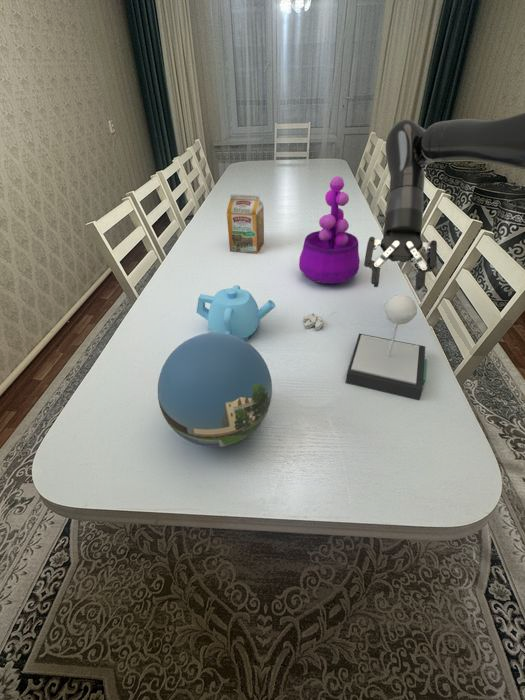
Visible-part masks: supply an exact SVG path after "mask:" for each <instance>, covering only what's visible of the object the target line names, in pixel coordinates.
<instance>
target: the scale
mask: <svg viewBox="0 0 525 700" xmlns="http://www.w3.org/2000/svg"><path fill="white" fill-rule="evenodd" d="M391 340H392V338H391V339H390V338H385V337H380V336H374V335H369V334H365V333H358V335H357V339H356V343H355V346H354V349H353V352H352V356H351V359H350V362H349V365H348V368H347V372H346V377H345V384H349V385H354V386H357V387H361V388H366V389H369V390H373V391H379V392H382V393H386V394H390V395H396V396H399V397H403V398H408V399H412V400H417V401H420V399H421V396H422V393H423V391H424V386H425V384H426V382H427V367H428V365H427V364H428V359H426V346H425V345H422V344H415V343H411V342H405V341H400V340H395V339H394V342H393V346H392V350H391V354H390V357H388V352H389V348H390V344H391Z"/></svg>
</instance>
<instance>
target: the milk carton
mask: <svg viewBox="0 0 525 700" xmlns="http://www.w3.org/2000/svg"><path fill="white" fill-rule="evenodd" d="M264 216H265V213H264V203H263V202H262V200H261V197H260V195H258V194H240V193H238V194H237V193H231V194H230V197H229V202H228V205H227V210H226V220H227V221H226V222H227V233H228V244H229V245H228V246H229V252H231V253H241V254H252V255H254V254H255V255H258V253H259V252H260V251H261V249H262V247H263V246H264V245H265V218H264Z"/></svg>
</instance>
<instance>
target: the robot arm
mask: <svg viewBox="0 0 525 700" xmlns="http://www.w3.org/2000/svg"><path fill="white" fill-rule="evenodd" d="M385 158H386V163H387V169H388V174H389V179H390V180H389V188H388V197H387V201H386V205H385V211H384V215H385V216H384V227H383V236H382V239H378V238H377V239H376V238H375V237H374V236H370V237H369V238H368V241H367V244H366V251H365V257H364V263H363V266H364V267H365V268H369V269H371V279H370V284H371V285H373V288H378V287H379V285H380V275H381V267H382V266H383V265H384V264H385V263H386V262H387V261H388V260H389V261H390V262H394V263H395V262H401V263H407V262H409V264H410V265H411V266H412V267H414V269H415V270H416V272H417V273H416V275H415V284H414V285H415V286H414V287H415V288H414V291H417V292H419V291H421V290H422V289H423V287H424V286H425V284H426V274H427V273H430V272H433V271H434V269H435V268H436V267H437V261H438V259H437V257H438V256H437V253H438V242H437V240H434V239H433V240H431V241H426V242H425V241H422V229H423V218H424V217H423V216H424V215H423V214H424V203H425V202H424V191H425V178H426V177H425V176H426V175H425V169H424V168H423V166H426V165H427V166H428V165H430V164H433V163H435V162H479V163H480V162H481V163H488V164H496V165H500V166H501V165H502V166H506V167H510V168H513V169H514V168H515V169H519V170H523V171H525V112H521V113H519V114H515V115H513V116H509V117H505V118H500V119H492V120H490V119H489V120H486V119H480V118H470V117H469V118H457V119H450V120H449V119H448V120H441V121H437V122H435V123H433V124H431V125H430V126H428V127H427V128H424V127H423V126H422V125H419V124H418V123H416V122H415V121H413V120H411V119H407V118H405V119H401V120H399V121H397V122H396V123H395V124H394V125H393V126H392V127H391V129H390V130H389V133H388V135H387V137H386V141H385ZM378 247H380V249H381V250H382V252H383V253H381V255H380V257H379V258H377V259H376V260H373V255H374V251H375V250H377V248H378ZM421 249H423V252H424V253H425V254H426V263H425V261H424V260H423V257H422V255H421V254H420V252H419V251H420V250H421Z"/></svg>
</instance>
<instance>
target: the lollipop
mask: <svg viewBox="0 0 525 700" xmlns="http://www.w3.org/2000/svg"><path fill="white" fill-rule="evenodd" d="M417 314H418V308H417V305H416V302H415V300H414V299H413V298H412V297H411V296H409V295H405V294H397V295H394V296H392V297H390V298H389V300H387V301H386V303H385V304H384V315H385V317H386V318H387V320H388V321H389V322H391V323H392V324H394V329H393V333H392V335H391V336H392V337H391V344H390V348H389V352H388V357H390V354H391V350H392V346H393V342H394V340H395V339H396V338H395V337H396V334H397V330H398V325H405V324H408V323H411V321H412V320H414V318H415V317H416V315H417Z"/></svg>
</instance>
